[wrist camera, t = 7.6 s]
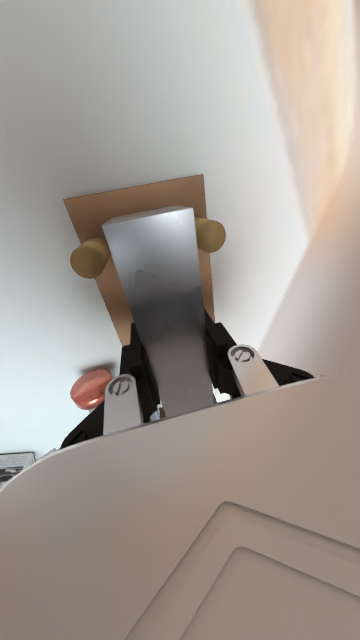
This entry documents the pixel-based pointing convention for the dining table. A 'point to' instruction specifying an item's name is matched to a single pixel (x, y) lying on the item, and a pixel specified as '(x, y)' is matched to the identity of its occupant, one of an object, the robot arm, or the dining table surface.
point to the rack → (103, 206)
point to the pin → (90, 389)
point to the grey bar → (165, 301)
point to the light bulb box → (14, 465)
